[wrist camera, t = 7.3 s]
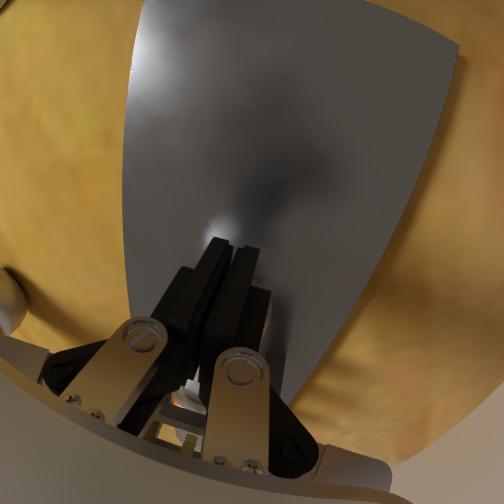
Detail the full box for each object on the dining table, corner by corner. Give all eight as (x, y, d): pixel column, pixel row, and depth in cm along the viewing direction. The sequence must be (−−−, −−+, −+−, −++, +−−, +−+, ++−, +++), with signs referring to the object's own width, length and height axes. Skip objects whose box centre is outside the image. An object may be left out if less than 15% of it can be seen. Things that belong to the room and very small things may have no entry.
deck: (163, -18, 8) (150, -24, 7) (447, 47, 7) (459, 45, 6) (149, 387, 25) (145, 397, 24) (267, 423, 25) (265, 433, 24)
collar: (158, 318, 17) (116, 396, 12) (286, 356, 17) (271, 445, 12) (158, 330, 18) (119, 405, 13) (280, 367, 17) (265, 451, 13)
